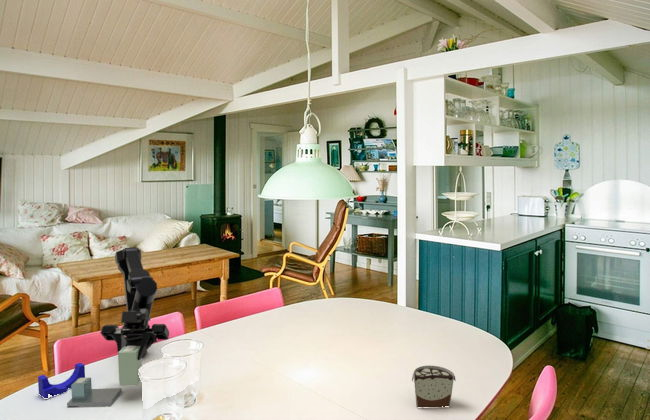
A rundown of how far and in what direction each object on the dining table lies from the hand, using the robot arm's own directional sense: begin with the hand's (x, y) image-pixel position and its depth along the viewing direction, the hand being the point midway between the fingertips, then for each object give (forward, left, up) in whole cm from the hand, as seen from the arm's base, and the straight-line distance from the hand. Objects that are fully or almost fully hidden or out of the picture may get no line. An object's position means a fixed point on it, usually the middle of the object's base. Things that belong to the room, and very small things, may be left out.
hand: (129, 359), depth 129 cm
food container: (+88, -7, -12) cm, 89 cm away
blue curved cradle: (-22, +6, -12) cm, 26 cm away
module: (0, +1, -7) cm, 7 cm away
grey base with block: (-10, 0, -12) cm, 15 cm away
